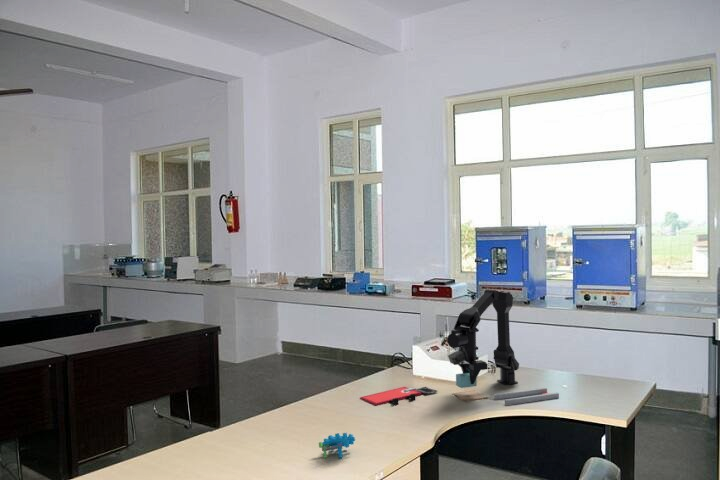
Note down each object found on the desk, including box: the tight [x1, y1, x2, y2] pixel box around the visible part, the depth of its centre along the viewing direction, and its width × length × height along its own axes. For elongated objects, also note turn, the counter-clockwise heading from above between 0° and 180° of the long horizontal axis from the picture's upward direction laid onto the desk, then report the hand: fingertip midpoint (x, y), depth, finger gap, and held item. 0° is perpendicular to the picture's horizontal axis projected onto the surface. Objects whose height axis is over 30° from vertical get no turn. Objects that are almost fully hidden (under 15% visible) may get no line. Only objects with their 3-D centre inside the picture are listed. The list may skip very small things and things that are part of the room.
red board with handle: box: [359, 386, 438, 407], centre depth 222 cm, size 30×3×15 cm
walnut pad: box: [452, 389, 488, 402], centre depth 220 cm, size 10×10×1 cm
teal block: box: [455, 372, 478, 389], centre depth 219 cm, size 4×7×4 cm, turn 108°
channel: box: [493, 387, 560, 406], centre depth 215 cm, size 8×24×2 cm, turn 109°
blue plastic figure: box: [318, 432, 356, 459], centre depth 165 cm, size 11×6×10 cm
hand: (469, 382), depth 220 cm, fingers closed on teal block, 4 cm apart
